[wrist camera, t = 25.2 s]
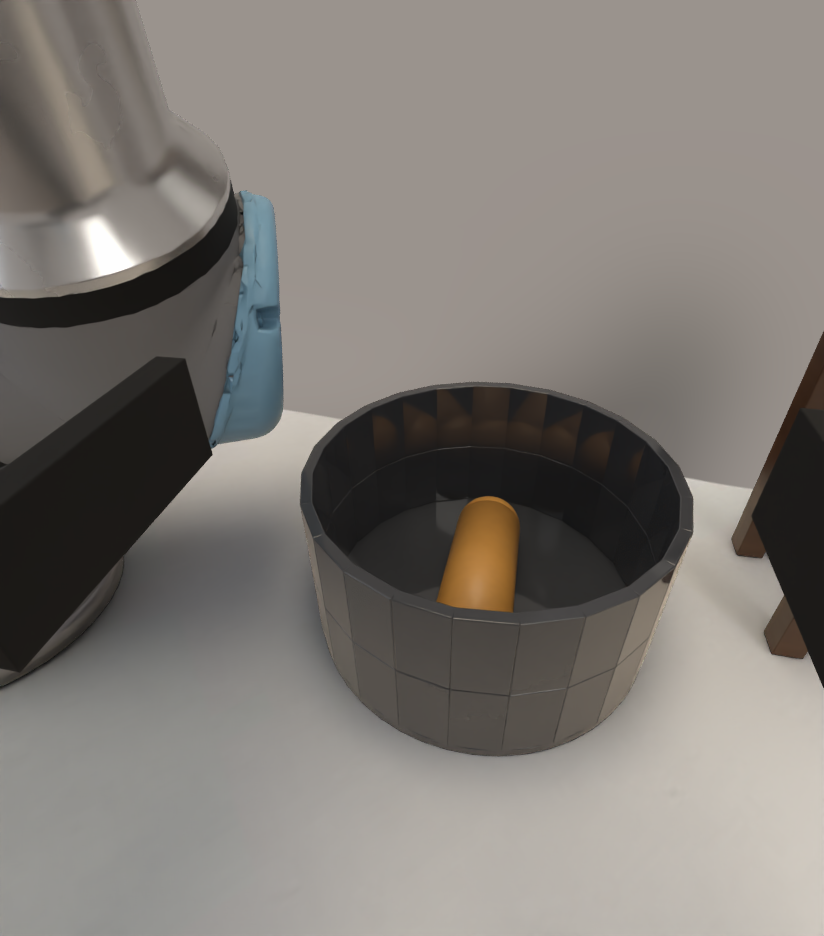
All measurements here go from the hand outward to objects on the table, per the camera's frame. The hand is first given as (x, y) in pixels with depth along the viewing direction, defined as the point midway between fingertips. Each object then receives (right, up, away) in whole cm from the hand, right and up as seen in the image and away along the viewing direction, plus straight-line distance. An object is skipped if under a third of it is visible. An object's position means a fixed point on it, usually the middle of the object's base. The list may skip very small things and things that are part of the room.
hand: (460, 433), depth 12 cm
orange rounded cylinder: (+3, -9, +19) cm, 21 cm away
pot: (+3, -9, +22) cm, 24 cm away
